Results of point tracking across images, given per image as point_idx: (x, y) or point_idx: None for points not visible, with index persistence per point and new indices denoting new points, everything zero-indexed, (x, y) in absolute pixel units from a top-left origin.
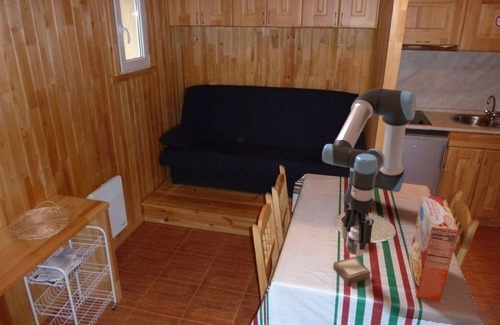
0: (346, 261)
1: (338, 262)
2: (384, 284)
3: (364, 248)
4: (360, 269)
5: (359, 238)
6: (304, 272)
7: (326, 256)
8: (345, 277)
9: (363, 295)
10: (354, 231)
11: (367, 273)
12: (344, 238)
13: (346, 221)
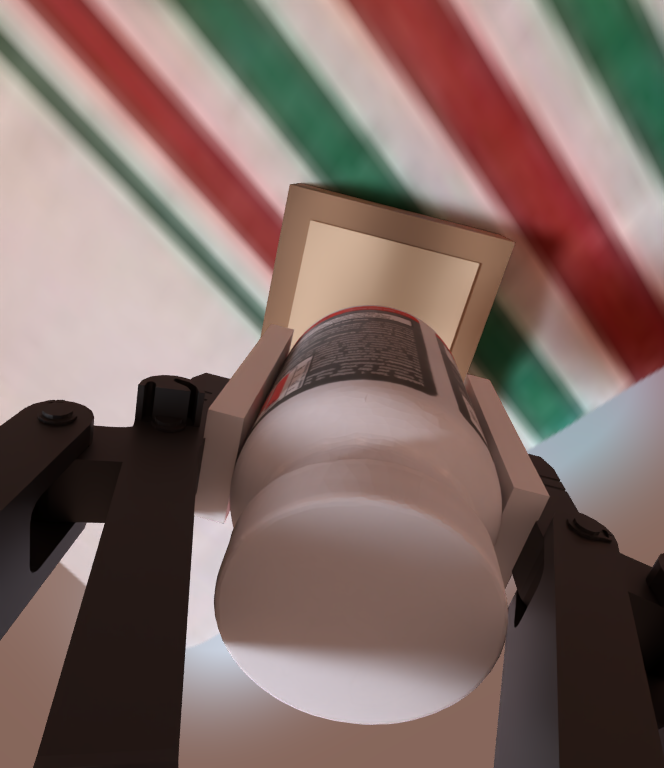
0: (298, 306)
1: None
2: (627, 199)
3: (552, 475)
4: (440, 296)
5: (509, 638)
6: (197, 526)
7: (131, 305)
8: None
9: (569, 415)
10: (387, 721)
11: (500, 272)
12: None
13: (13, 613)
